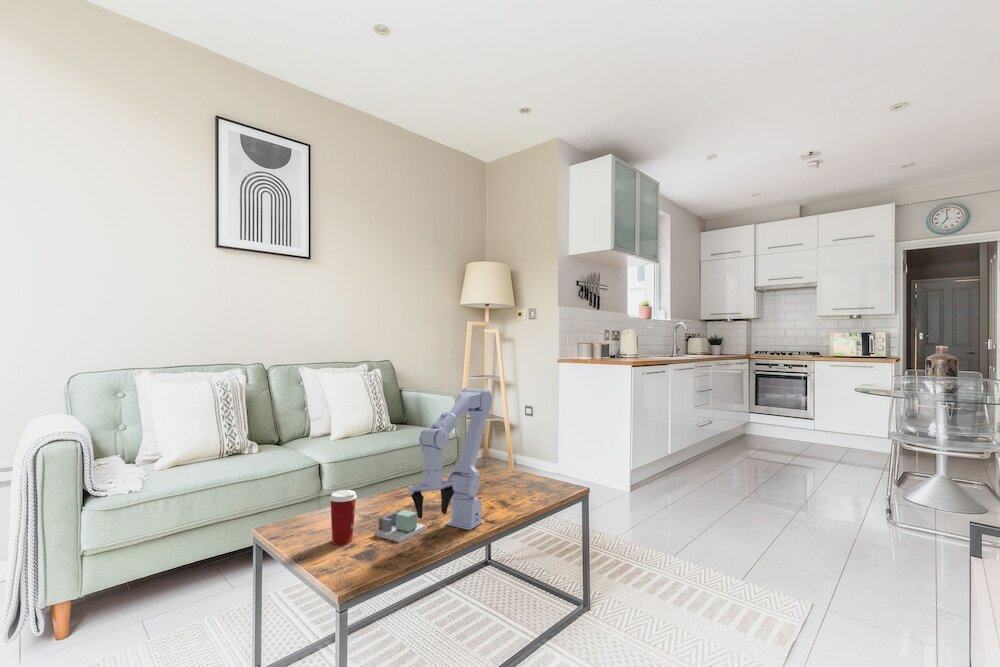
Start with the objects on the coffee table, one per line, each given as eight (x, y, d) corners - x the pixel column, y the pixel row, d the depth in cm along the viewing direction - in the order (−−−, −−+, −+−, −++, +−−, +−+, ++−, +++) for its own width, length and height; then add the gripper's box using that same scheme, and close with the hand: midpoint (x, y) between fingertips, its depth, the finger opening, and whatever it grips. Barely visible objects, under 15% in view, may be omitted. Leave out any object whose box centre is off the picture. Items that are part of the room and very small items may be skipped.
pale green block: (416, 529, 146) (417, 512, 146) (408, 533, 143) (408, 516, 143) (404, 526, 149) (404, 510, 149) (395, 530, 145) (395, 513, 145)
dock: (425, 529, 149) (426, 514, 150) (399, 542, 139) (400, 526, 139) (401, 523, 154) (401, 508, 154) (374, 535, 144) (374, 519, 144)
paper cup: (361, 541, 140) (362, 493, 140) (337, 549, 134) (338, 498, 134) (347, 534, 145) (348, 487, 145) (323, 541, 139) (324, 493, 140)
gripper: (449, 463, 149) (448, 507, 148) (404, 468, 141) (403, 515, 141) (459, 468, 142) (458, 514, 142) (412, 474, 135) (412, 522, 135)
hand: (431, 515), depth 141 cm, fingers open, 7 cm apart
